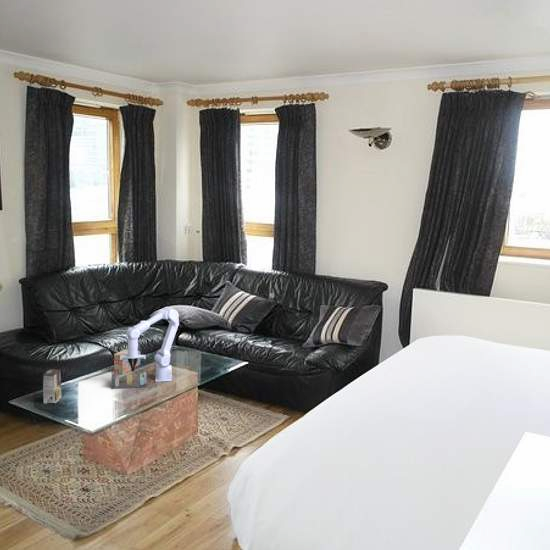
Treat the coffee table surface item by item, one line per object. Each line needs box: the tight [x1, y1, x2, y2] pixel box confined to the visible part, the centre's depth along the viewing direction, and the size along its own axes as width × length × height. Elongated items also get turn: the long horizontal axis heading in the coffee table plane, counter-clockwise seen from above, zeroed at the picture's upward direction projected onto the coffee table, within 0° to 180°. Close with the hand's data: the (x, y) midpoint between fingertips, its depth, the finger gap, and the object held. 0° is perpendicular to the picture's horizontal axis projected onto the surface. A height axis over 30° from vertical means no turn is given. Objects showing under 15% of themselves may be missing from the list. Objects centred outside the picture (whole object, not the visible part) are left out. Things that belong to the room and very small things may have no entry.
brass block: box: [126, 373, 133, 385], centre depth 346 cm, size 3×7×4 cm, turn 13°
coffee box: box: [42, 368, 62, 404], centre depth 316 cm, size 9×6×16 cm
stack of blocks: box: [113, 348, 141, 375], centre depth 375 cm, size 21×6×12 cm, turn 162°
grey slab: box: [111, 373, 148, 390], centre depth 346 cm, size 20×12×6 cm, turn 103°
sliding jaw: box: [139, 371, 147, 385], centre depth 348 cm, size 4×10×5 cm, turn 13°
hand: (132, 370), depth 346 cm, fingers closed
